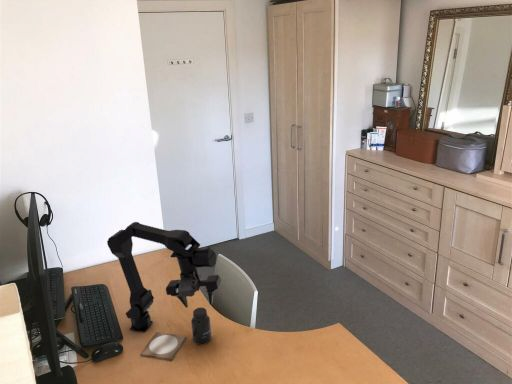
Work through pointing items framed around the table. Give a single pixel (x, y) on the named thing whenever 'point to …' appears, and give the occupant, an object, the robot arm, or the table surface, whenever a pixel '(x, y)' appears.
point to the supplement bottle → (201, 326)
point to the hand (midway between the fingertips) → (199, 305)
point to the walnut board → (163, 346)
